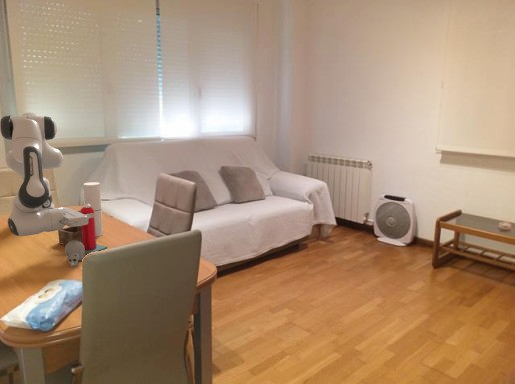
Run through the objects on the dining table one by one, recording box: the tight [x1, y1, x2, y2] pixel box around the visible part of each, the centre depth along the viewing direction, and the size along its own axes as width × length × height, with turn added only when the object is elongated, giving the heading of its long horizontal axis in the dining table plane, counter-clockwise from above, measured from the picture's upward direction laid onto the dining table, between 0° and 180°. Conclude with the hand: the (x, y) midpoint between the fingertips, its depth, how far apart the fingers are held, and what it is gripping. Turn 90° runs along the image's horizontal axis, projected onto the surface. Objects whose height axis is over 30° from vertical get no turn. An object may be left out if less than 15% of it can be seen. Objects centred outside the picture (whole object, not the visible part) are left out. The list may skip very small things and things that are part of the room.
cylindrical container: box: [83, 181, 104, 238], centre depth 192 cm, size 7×7×25 cm
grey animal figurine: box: [64, 240, 86, 268], centre depth 159 cm, size 7×12×8 cm, turn 13°
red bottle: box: [79, 202, 97, 250], centre depth 173 cm, size 5×6×20 cm
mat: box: [84, 243, 108, 256], centre depth 175 cm, size 10×10×1 cm
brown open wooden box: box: [57, 226, 83, 246], centre depth 184 cm, size 10×10×6 cm
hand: (89, 213), depth 172 cm, fingers closed on red bottle, 5 cm apart
